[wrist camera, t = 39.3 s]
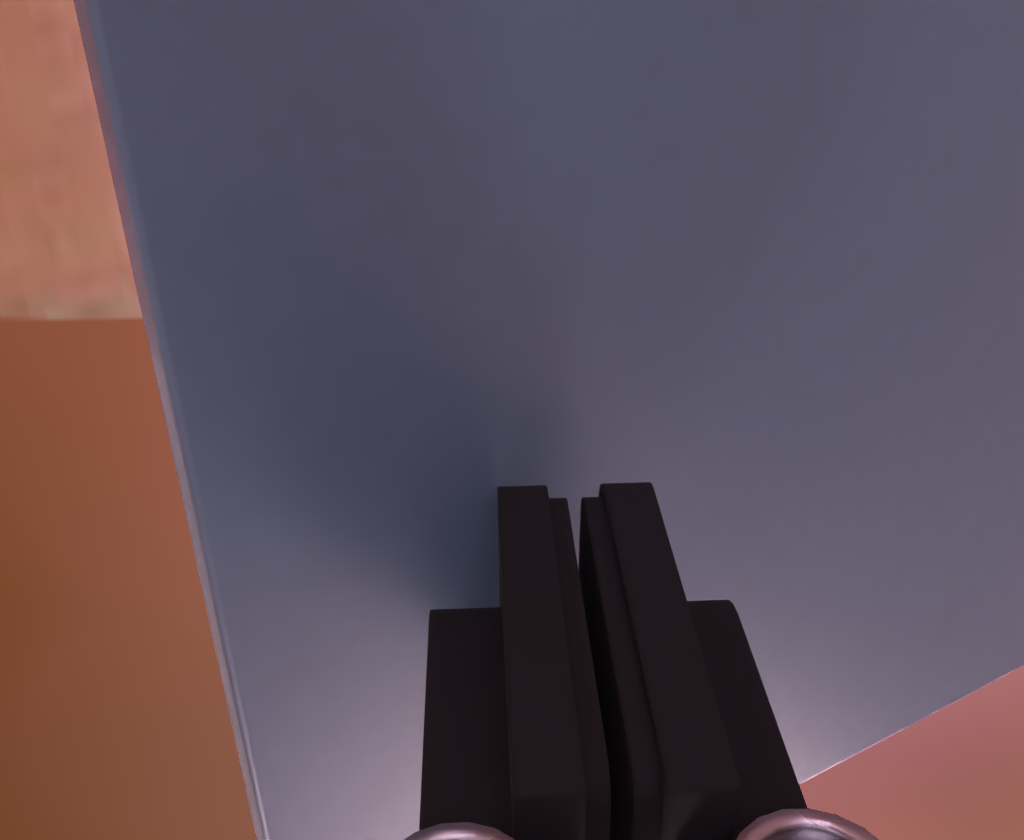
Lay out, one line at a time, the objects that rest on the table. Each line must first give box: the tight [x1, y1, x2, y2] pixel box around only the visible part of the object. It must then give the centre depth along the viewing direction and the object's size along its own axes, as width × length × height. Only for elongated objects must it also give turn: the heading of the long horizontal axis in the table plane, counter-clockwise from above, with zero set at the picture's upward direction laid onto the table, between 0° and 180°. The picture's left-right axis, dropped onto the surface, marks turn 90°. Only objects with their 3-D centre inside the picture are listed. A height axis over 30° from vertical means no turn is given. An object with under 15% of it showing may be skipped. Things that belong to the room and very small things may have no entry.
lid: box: [74, 0, 1024, 840], centre depth 13 cm, size 15×14×1 cm
